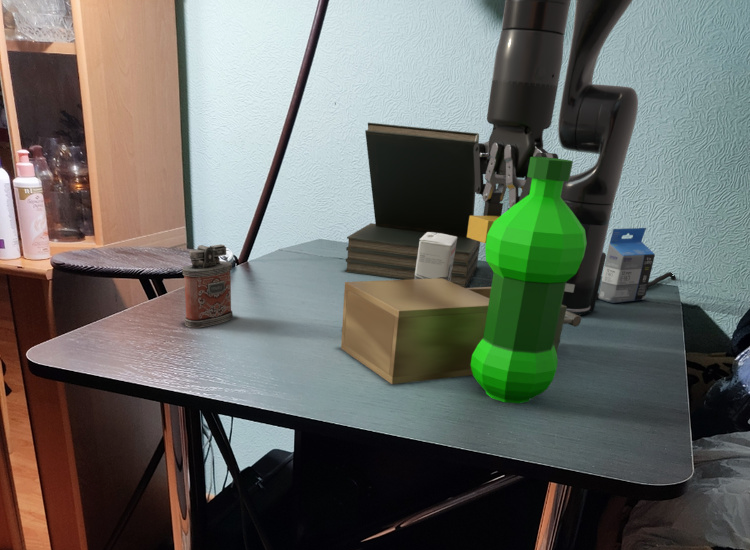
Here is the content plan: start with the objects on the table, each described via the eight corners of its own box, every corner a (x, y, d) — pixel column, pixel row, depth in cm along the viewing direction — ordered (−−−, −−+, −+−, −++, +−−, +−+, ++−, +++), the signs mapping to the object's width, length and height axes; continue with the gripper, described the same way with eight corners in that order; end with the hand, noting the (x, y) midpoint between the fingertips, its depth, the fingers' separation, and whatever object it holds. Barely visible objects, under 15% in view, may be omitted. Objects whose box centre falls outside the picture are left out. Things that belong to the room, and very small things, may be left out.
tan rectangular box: (434, 340, 100) (442, 278, 96) (492, 373, 90) (504, 304, 86) (340, 348, 94) (344, 281, 90) (391, 384, 84) (399, 310, 80)
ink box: (441, 326, 107) (451, 243, 101) (408, 322, 108) (416, 239, 102) (447, 312, 114) (458, 234, 109) (416, 308, 115) (425, 230, 109)
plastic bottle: (571, 403, 83) (625, 166, 71) (506, 417, 78) (553, 163, 65) (510, 375, 90) (550, 155, 78) (446, 387, 84) (478, 151, 72)
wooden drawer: (530, 328, 107) (539, 281, 104) (588, 354, 98) (600, 304, 94) (421, 337, 98) (426, 286, 95) (473, 366, 89) (481, 311, 86)
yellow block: (466, 237, 91) (469, 215, 89) (513, 237, 94) (517, 215, 93) (485, 243, 88) (488, 220, 86) (533, 242, 91) (537, 221, 90)
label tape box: (612, 304, 129) (630, 232, 123) (595, 298, 132) (612, 228, 126) (644, 300, 134) (663, 231, 128) (627, 295, 137) (644, 227, 131)
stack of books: (476, 268, 148) (496, 132, 136) (465, 287, 131) (487, 134, 119) (368, 254, 152) (378, 120, 139) (344, 271, 135) (353, 121, 123)
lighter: (197, 329, 96) (194, 251, 91) (179, 323, 98) (175, 247, 93) (238, 318, 102) (237, 245, 97) (220, 313, 104) (218, 240, 99)
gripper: (592, 84, 79) (560, 248, 87) (513, 81, 89) (491, 227, 98) (539, 78, 75) (511, 248, 84) (463, 75, 86) (444, 227, 94)
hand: (500, 236), depth 91 cm, fingers closed on yellow block, 4 cm apart
